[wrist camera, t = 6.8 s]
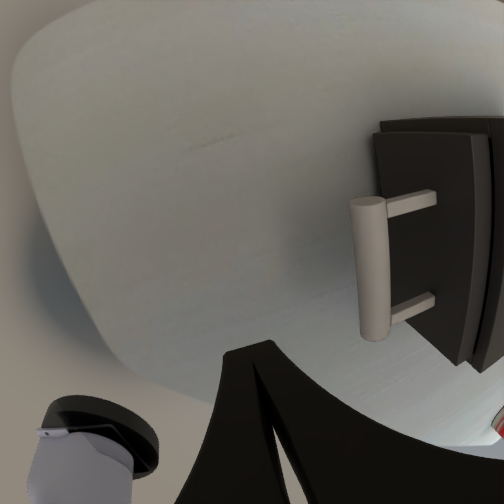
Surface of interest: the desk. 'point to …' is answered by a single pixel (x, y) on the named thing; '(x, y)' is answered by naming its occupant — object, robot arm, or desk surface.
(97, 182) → the desk surface
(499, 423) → the pill bottle
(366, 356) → the desk surface
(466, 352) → the drawer
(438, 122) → the cabinet
